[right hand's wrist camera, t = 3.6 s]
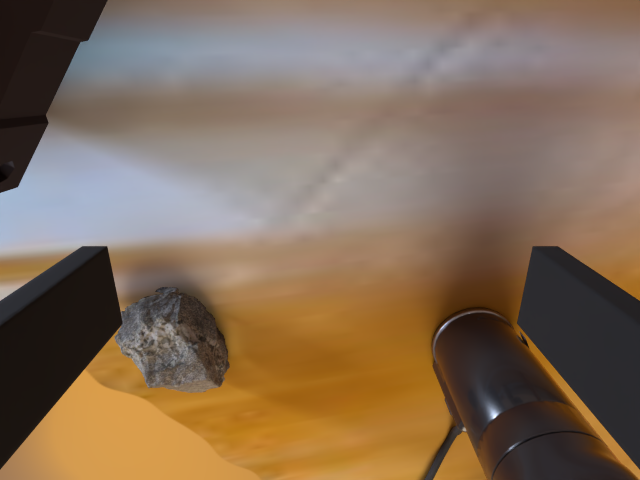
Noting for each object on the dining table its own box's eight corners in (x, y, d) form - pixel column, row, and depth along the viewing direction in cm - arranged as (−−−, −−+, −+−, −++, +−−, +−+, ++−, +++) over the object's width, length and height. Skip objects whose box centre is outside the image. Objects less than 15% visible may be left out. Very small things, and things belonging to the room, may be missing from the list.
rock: (116, 316, 45) (85, 351, 39) (163, 266, 43) (139, 295, 37) (208, 383, 48) (194, 425, 42) (256, 340, 46) (248, 378, 40)
